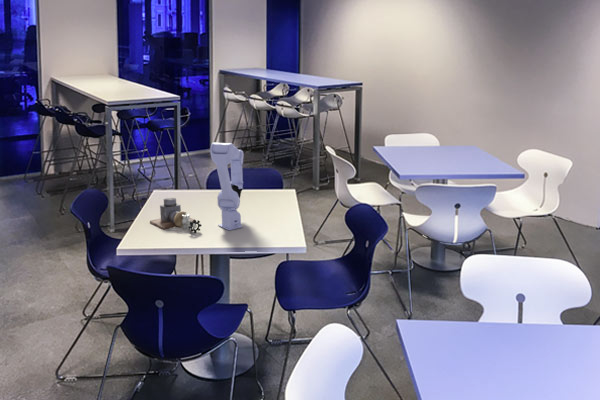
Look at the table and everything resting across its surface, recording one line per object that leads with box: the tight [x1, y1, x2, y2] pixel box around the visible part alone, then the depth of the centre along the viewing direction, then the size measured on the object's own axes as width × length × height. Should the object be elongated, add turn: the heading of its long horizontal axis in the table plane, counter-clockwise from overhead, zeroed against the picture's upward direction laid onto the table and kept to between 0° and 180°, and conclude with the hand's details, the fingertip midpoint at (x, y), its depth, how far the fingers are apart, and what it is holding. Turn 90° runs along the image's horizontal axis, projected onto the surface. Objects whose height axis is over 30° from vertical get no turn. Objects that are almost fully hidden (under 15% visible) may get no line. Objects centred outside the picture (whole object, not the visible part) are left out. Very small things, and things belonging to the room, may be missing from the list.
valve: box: [181, 213, 202, 234], centre depth 300 cm, size 7×7×12 cm
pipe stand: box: [149, 197, 194, 230], centre depth 309 cm, size 16×18×12 cm
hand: (237, 199), depth 318 cm, fingers closed
